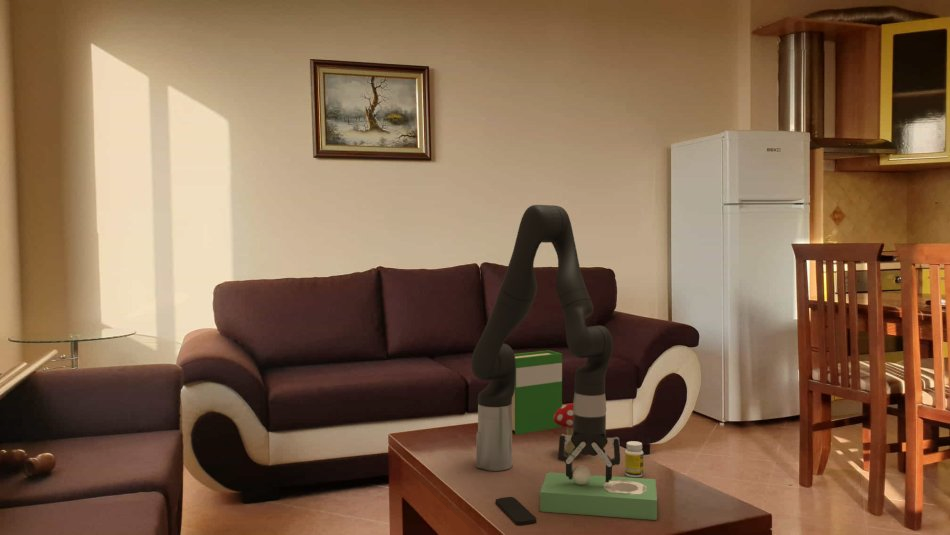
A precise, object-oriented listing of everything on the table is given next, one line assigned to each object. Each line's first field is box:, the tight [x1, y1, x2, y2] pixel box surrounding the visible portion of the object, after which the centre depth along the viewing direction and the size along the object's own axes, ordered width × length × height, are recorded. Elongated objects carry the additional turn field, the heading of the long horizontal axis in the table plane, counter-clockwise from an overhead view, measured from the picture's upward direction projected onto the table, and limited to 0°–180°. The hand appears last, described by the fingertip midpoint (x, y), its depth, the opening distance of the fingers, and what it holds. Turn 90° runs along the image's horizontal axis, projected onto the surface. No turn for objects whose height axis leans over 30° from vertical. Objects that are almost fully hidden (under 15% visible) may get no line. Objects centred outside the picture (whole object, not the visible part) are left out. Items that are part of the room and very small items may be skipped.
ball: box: [572, 465, 592, 485], centre depth 177 cm, size 4×4×4 cm
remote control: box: [495, 496, 538, 527], centre depth 172 cm, size 5×2×15 cm
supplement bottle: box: [624, 440, 644, 478], centre depth 197 cm, size 5×5×8 cm
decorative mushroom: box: [554, 402, 575, 456], centre depth 213 cm, size 11×11×15 cm
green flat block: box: [539, 472, 658, 521], centre depth 177 cm, size 26×14×4 cm, turn 78°
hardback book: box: [512, 349, 563, 436], centre depth 243 cm, size 18×7×24 cm, turn 120°
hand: (588, 479), depth 177 cm, fingers open, 8 cm apart
